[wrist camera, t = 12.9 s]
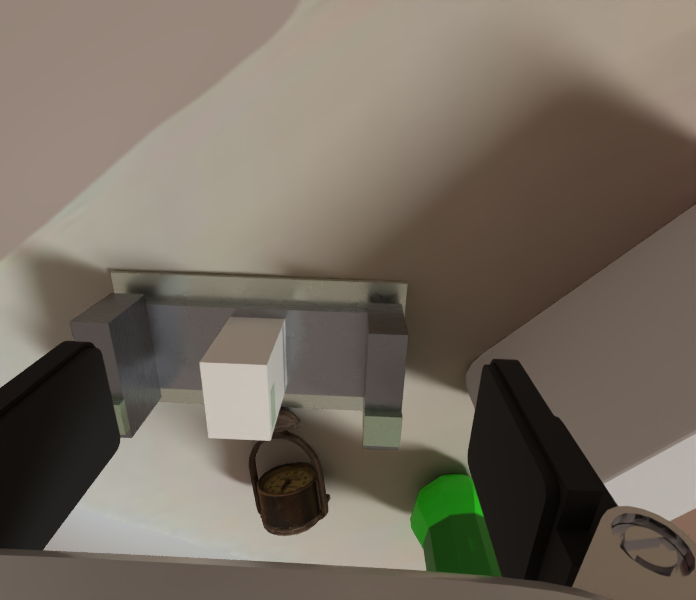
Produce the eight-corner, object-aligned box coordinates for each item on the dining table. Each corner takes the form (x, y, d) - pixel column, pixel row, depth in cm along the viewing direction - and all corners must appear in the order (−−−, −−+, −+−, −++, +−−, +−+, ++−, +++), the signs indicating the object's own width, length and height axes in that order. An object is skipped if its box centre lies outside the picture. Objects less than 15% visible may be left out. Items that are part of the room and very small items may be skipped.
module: (230, 316, 39) (199, 362, 32) (285, 318, 39) (267, 365, 32) (235, 382, 42) (208, 437, 35) (287, 384, 42) (270, 440, 34)
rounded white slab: (503, 416, 45) (586, 591, 28) (458, 368, 43) (519, 527, 26) (785, 235, 37) (1136, 331, 20) (746, 166, 35) (1101, 208, 18)
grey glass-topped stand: (113, 270, 40) (51, 307, 32) (406, 281, 39) (418, 322, 31) (138, 397, 45) (90, 456, 37) (396, 408, 45) (403, 470, 37)
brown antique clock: (221, 530, 45) (311, 566, 43) (226, 443, 39) (331, 481, 37) (253, 477, 51) (332, 506, 50) (261, 395, 45) (352, 425, 44)
